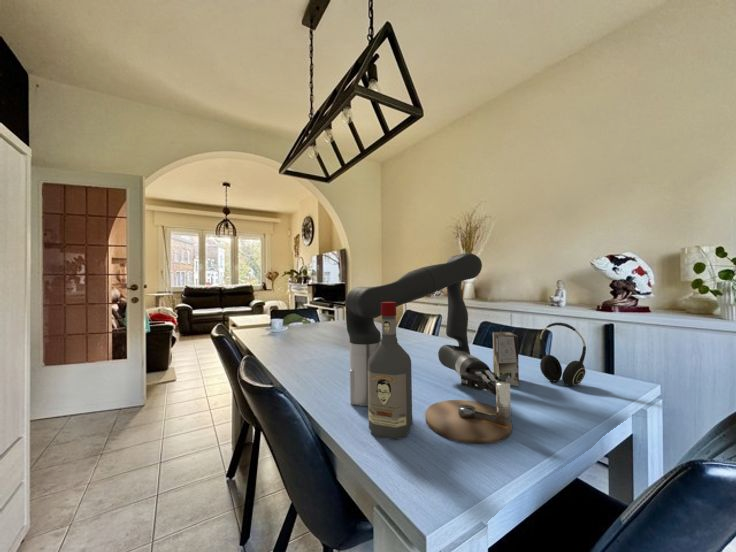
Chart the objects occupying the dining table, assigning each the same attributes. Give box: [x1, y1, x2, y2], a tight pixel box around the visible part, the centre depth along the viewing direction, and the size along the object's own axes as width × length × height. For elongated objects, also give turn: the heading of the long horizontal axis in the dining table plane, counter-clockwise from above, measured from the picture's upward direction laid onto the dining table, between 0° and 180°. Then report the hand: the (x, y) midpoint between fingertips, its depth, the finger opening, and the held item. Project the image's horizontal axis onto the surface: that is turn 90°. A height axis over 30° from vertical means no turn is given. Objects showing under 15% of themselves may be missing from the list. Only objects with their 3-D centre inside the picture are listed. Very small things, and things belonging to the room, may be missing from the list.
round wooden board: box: [424, 399, 513, 445], centre depth 76 cm, size 20×20×2 cm
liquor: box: [367, 302, 413, 441], centre depth 73 cm, size 9×9×30 cm
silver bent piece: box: [458, 381, 512, 425], centre depth 74 cm, size 12×4×9 cm, turn 54°
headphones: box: [539, 322, 587, 387], centre depth 102 cm, size 9×15×20 cm, turn 28°
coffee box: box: [492, 331, 520, 387], centre depth 105 cm, size 9×6×16 cm
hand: (499, 392), depth 73 cm, fingers closed
